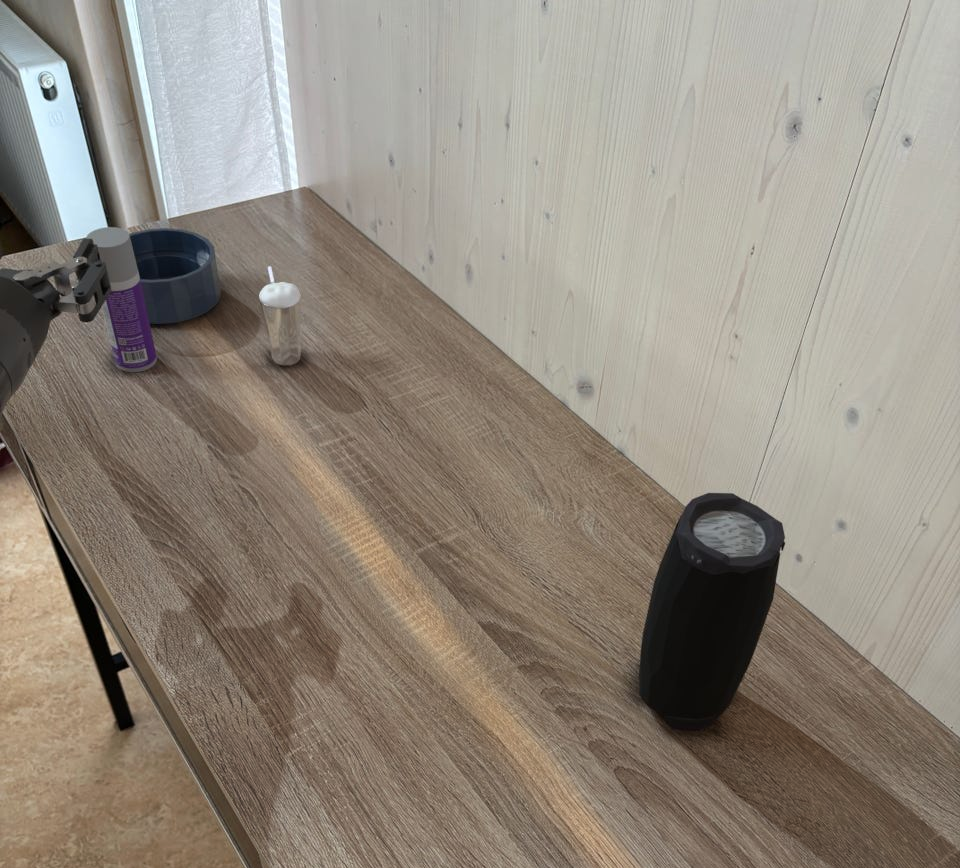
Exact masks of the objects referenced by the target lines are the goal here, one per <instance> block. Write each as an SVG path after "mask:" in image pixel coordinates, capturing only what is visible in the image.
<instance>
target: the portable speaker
mask: <svg viewBox="0 0 960 868" xmlns="http://www.w3.org/2000/svg"><path fill="white" fill-rule="evenodd" d="M785 539H786V535H785V530H784V525H783V522H781V521H780V520H778V519H776V518H775V517H774V516H772V515H771V514H770V513H769V512H766V511H765V510H764V509H762V508H761V507H760V506H758V505H756V504H754V503H752V502H750V501H748V500H746V499H744V498H741V496H739V495H737V494H735V493H732V492H728V493H727V492H707V493H704V494H702V495H699V496H696V497H694V498H692V499H691V500H690V501H689V502H688V503H687V504H686V506H685V507H684V509H683V511H682V513H681V515H680V516H679V519H678V521H677V523H676V524H675V528H674V530H673V533H672V534H671V537H670V539H669V542H668V544H667V546H666V549H665V551H664V553H663V556H662V558H661V561H660V563H659V566H658V569H657V571H656V575H655V578H654V581H653V585H652V590H651V595H650V600H649V604H648V608H647V612H646V617H645V622H644V626H643V630H642V636H641V644H640V645H641V646H640V656H639V657H640V658H639V670H638V693H639V694H638V695H639V697H641V699H642V700H643V702H644V703H645V704H646V705H647V706H648V707H649V708H650V709H651V710H652V711H654V712H655V713H656V714H657V715H658V716H659V717H661V719H662V720H663V721H664V722H666V723H667V725H669V727H670V728H671V729H673V730H680V731H681V730H682V731H689V732H690V731H691V732H696V731H699V730H702V729H706V728H709V727H712V725H713V724H714V723H715V721H716V722H717V720H718V719H719V718H720V716H722V715H723V714H724V713H725V711H726V710H727V709H729V707H730V705H731V703H732V702H733V699H734V697H735V695H736V693H737V691H738V689H739V687H740V685H741V684H742V683H743V682H744V680H745V676H746V673H747V671H748V669H749V667H750V664H751V662H752V659H753V656H754V654H755V651H756V648H757V646H758V643H759V640H760V638H761V635H762V632H763V629H764V626H765V624H766V620H767V618H768V615H769V612H770V610H771V607H772V604H773V601H774V597H775V590H776V584H777V579H778V578H777V577H778V572H779V571H778V570H779V566H780V558H781V555H782V553H781V552H783V551H784V548H785V545H786V542H785Z"/></svg>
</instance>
